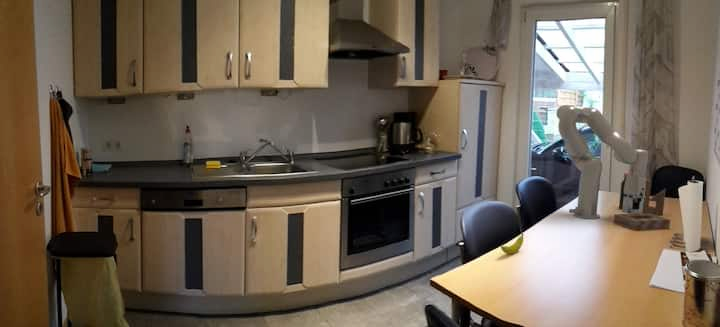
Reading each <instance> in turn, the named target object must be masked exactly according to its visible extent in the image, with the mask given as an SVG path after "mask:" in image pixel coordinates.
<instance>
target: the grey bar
mask: <svg viewBox="0 0 720 327" xmlns="http://www.w3.org/2000/svg"><path fill="white" fill-rule="evenodd" d="M638 198H639V197H638ZM634 202H635V196H634V197H631V196H624V199H623V207H622V209H621V212H622V213H624V214H635V213H642V210H643V203H644V199H643V200H642V201H641V202H640V205H639V210H634V209H633V206H634Z"/></svg>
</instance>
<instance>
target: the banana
mask: <svg viewBox="0 0 720 327" xmlns="http://www.w3.org/2000/svg"><path fill="white" fill-rule="evenodd" d="M524 235H525V234H524V233H522V234H521V235H520V236H519V237H518V238H517V239H516V241H515V242H514V243H513V244H511V245H508V246H506V245H501V246H500V250H502V252H503V253H504V254H507V255H511V254H516V253H517V252H519V250H520V249H521V247H522V246H523V243H524Z"/></svg>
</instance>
